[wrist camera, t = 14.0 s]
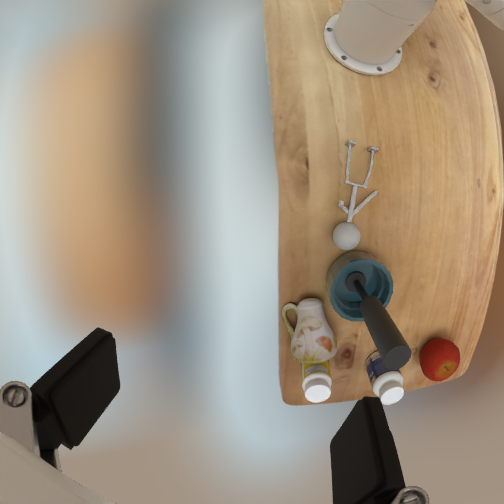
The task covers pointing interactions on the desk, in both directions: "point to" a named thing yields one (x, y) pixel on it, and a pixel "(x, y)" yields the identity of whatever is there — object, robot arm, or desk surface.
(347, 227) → the figurine
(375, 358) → the pill bottle
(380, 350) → the cylinder on disc stand
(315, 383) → the supplement bottle
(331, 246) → the desk surface
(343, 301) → the bowl
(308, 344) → the mug
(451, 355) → the apple
